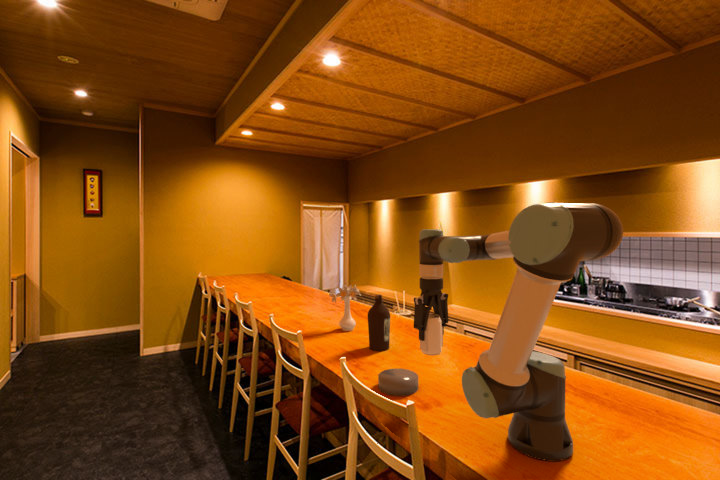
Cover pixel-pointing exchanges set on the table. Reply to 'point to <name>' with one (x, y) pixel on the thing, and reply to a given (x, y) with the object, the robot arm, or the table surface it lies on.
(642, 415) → the table surface
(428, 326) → the can
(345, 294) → the flower vase
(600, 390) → the table surface
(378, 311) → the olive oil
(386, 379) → the stand
